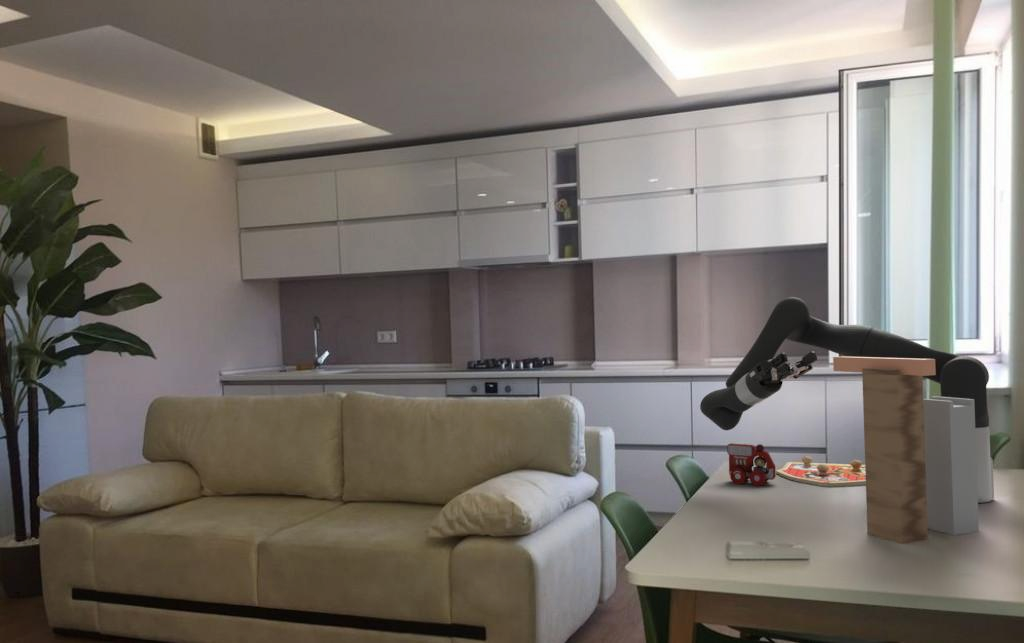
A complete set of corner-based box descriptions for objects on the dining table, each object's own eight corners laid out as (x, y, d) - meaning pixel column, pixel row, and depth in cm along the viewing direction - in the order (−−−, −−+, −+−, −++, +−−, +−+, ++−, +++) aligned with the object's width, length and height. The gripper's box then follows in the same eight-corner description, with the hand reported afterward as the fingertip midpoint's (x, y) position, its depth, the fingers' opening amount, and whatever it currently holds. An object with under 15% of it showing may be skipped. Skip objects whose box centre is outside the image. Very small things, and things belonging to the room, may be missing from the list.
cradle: (938, 520, 162) (934, 396, 163) (978, 530, 154) (974, 399, 154) (914, 524, 160) (910, 398, 160) (953, 535, 151) (949, 401, 152)
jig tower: (893, 529, 157) (887, 366, 157) (927, 538, 149) (922, 368, 150) (867, 533, 154) (862, 368, 154) (901, 543, 147) (895, 370, 147)
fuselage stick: (844, 370, 165) (843, 356, 165) (935, 375, 145) (935, 359, 145) (833, 371, 164) (833, 356, 164) (924, 375, 144) (923, 359, 144)
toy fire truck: (771, 487, 200) (770, 447, 200) (724, 483, 207) (723, 444, 207) (778, 482, 206) (777, 443, 206) (732, 478, 213) (730, 440, 213)
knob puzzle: (888, 471, 219) (888, 455, 219) (893, 493, 192) (892, 474, 192) (780, 466, 231) (780, 451, 231) (770, 485, 204) (769, 468, 204)
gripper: (729, 372, 187) (769, 341, 174) (775, 369, 192) (818, 340, 179) (739, 400, 183) (781, 372, 170) (786, 397, 189) (830, 369, 176)
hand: (800, 355), depth 175 cm, fingers open, 8 cm apart
